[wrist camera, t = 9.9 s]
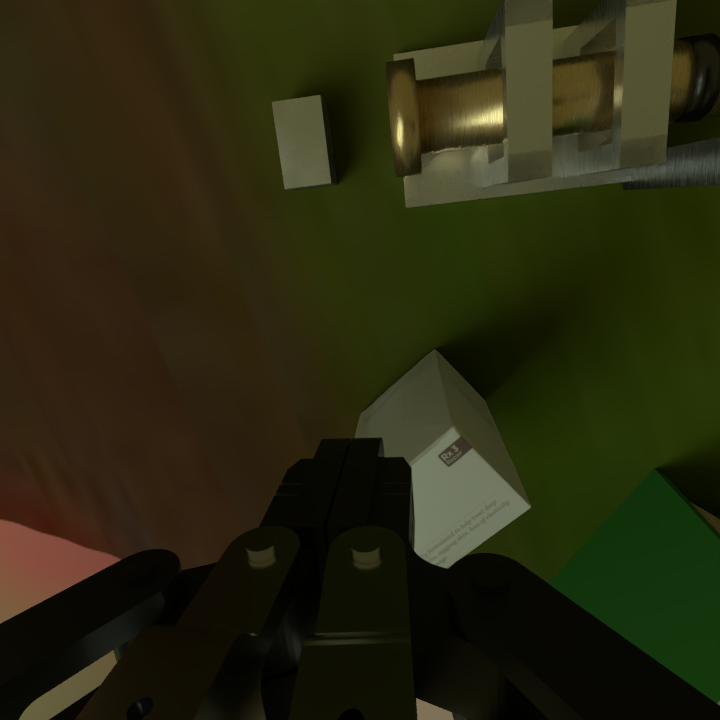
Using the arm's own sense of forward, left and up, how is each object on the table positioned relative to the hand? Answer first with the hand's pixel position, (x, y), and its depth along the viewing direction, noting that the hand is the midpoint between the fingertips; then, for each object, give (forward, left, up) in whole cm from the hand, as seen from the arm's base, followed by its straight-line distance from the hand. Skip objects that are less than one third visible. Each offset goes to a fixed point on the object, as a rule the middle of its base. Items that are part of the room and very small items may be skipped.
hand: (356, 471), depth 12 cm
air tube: (-11, -10, -21) cm, 26 cm away
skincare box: (-2, +9, -25) cm, 26 cm away
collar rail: (-6, -10, -24) cm, 27 cm away
